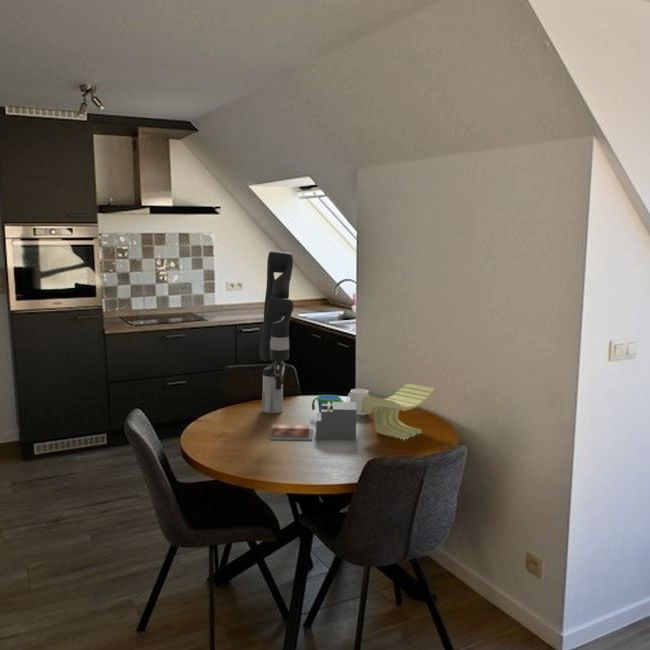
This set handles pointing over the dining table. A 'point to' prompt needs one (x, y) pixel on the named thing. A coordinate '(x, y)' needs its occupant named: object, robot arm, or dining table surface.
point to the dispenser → (337, 422)
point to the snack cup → (325, 400)
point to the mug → (358, 398)
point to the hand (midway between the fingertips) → (279, 386)
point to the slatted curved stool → (396, 409)
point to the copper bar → (290, 430)
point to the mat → (293, 437)
